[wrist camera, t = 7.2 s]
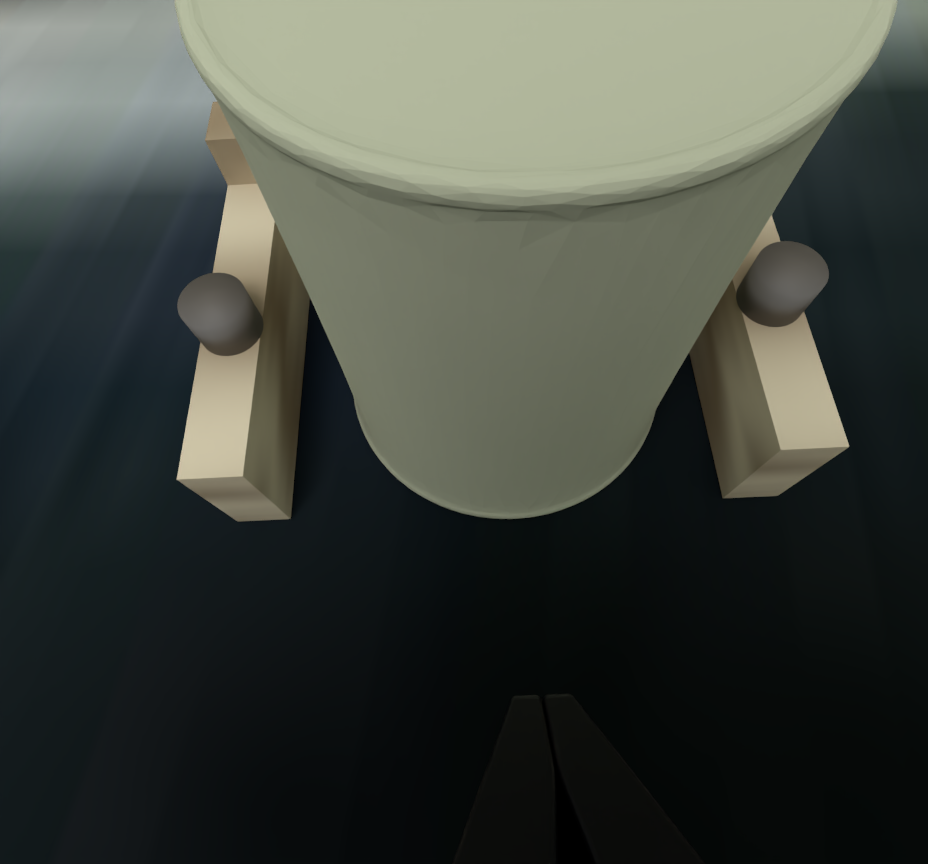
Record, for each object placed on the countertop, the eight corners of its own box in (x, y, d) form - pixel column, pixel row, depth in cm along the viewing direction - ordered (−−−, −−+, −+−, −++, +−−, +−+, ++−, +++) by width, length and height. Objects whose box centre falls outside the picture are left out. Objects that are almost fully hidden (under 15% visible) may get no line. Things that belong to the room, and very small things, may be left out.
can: (573, 224, 20) (672, -322, 9) (715, 450, 17) (1145, -13, 6) (319, 309, 19) (99, -196, 8) (412, 571, 16) (238, 284, 5)
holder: (779, 495, 16) (894, 416, 12) (235, 521, 16) (138, 454, 12) (700, 208, 20) (762, 68, 16) (272, 232, 21) (211, 102, 16)
